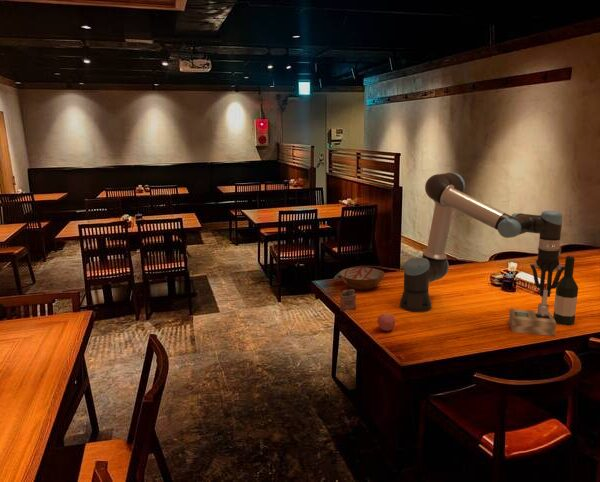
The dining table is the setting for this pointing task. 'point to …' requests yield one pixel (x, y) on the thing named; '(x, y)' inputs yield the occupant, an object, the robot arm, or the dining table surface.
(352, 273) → the bowl
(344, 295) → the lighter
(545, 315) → the steel peg
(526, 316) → the teal peg
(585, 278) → the dining table surface
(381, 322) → the apple
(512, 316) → the socket block
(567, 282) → the wine bottle
